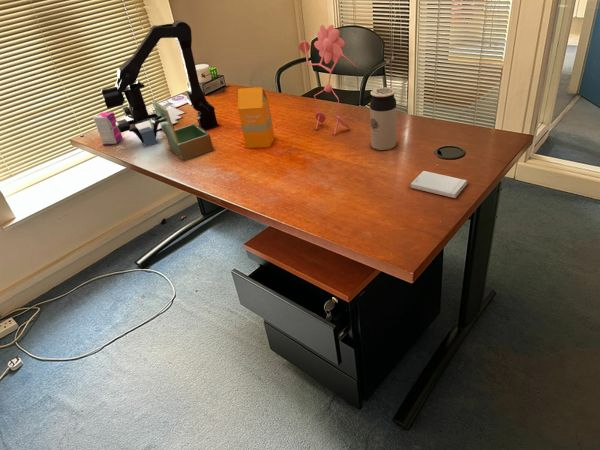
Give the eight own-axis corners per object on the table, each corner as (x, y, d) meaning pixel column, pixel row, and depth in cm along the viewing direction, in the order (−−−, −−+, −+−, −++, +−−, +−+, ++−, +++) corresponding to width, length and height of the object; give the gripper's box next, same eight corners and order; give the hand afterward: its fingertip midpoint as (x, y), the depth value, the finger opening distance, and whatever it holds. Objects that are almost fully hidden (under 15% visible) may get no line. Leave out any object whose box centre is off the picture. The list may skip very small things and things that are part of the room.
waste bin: (198, 138, 169) (194, 123, 165) (213, 150, 158) (209, 134, 155) (170, 148, 164) (165, 133, 161) (183, 161, 154) (178, 144, 150)
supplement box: (116, 144, 174) (105, 117, 168) (103, 145, 176) (92, 118, 169) (123, 138, 179) (113, 111, 172) (111, 139, 180) (100, 112, 174)
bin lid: (153, 99, 154) (141, 104, 152) (167, 109, 143) (154, 114, 142) (165, 131, 161) (154, 135, 159) (179, 143, 150) (167, 147, 149)
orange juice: (251, 138, 163) (241, 84, 151) (274, 137, 161) (265, 83, 149) (245, 148, 156) (234, 92, 145) (269, 147, 154) (259, 91, 143)
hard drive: (410, 183, 120) (455, 193, 113) (423, 170, 125) (467, 179, 118) (410, 188, 121) (454, 199, 114) (423, 175, 126) (466, 184, 119)
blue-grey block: (153, 139, 174) (149, 126, 171) (157, 143, 171) (153, 129, 167) (142, 143, 172) (137, 130, 169) (146, 147, 169) (141, 133, 166)
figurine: (351, 140, 151) (344, 31, 131) (298, 126, 167) (285, 27, 147) (379, 124, 159) (376, 20, 139) (326, 112, 175) (317, 17, 155)
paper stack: (120, 124, 193) (119, 123, 192) (171, 106, 205) (170, 105, 205) (141, 137, 177) (141, 135, 177) (195, 116, 189) (195, 115, 189)
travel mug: (390, 138, 148) (389, 85, 138) (400, 147, 142) (400, 92, 132) (367, 143, 147) (365, 90, 137) (376, 152, 141) (375, 97, 131)
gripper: (153, 90, 171) (165, 127, 180) (105, 104, 164) (120, 142, 173) (162, 96, 163) (174, 135, 172) (112, 111, 156) (127, 151, 165)
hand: (149, 140), depth 171 cm, fingers closed on blue-grey block, 4 cm apart
